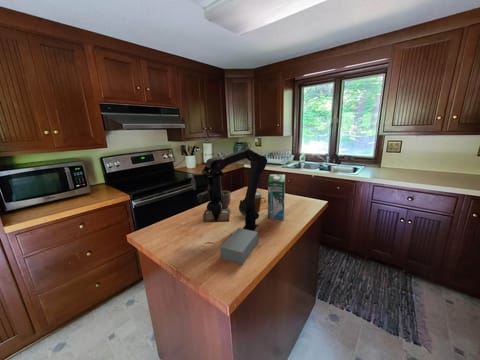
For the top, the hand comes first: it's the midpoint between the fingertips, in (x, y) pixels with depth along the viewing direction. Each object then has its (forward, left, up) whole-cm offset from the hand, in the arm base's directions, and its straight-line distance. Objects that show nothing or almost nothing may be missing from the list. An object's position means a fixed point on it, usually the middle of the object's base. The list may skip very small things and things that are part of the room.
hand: (216, 217), depth 99 cm
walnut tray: (0, 0, -1) cm, 1 cm away
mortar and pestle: (-28, -13, -11) cm, 33 cm away
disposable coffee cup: (-38, +5, -11) cm, 40 cm away
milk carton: (-35, +20, -11) cm, 42 cm away
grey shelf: (+5, +15, -11) cm, 19 cm away
